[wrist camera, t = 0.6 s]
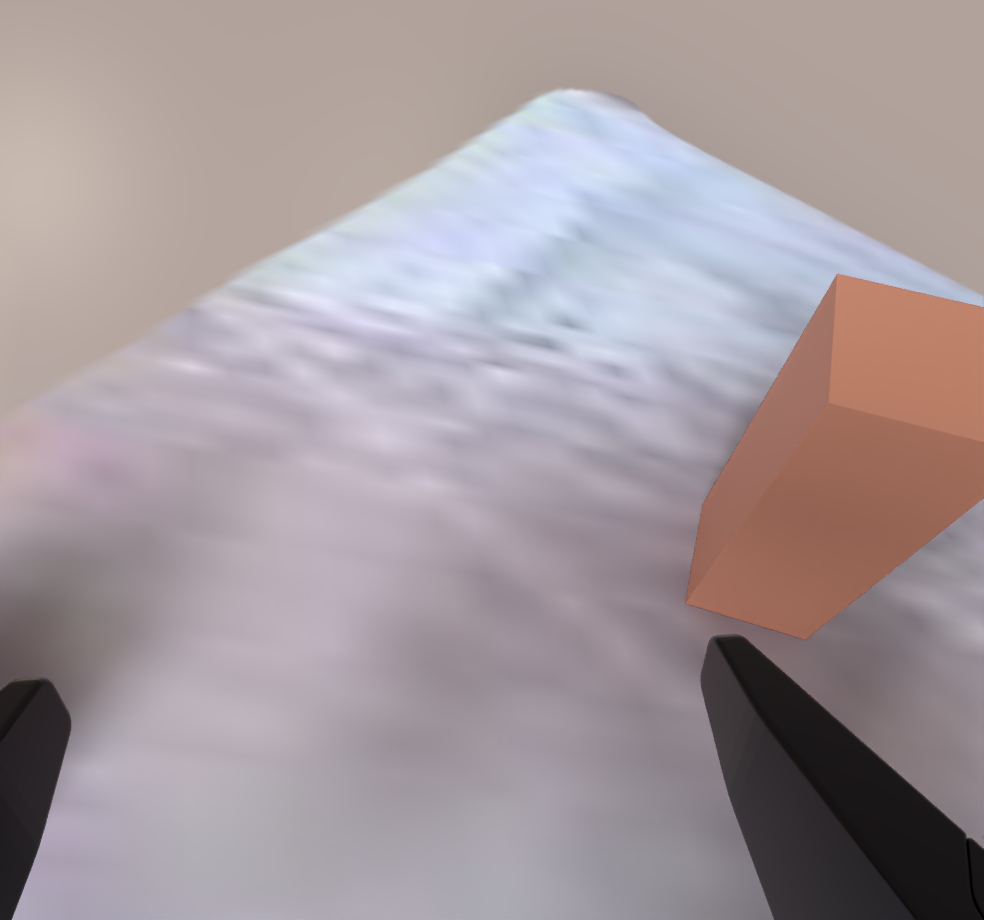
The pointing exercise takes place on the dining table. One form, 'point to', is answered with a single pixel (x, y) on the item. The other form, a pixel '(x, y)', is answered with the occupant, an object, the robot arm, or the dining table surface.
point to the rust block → (847, 459)
